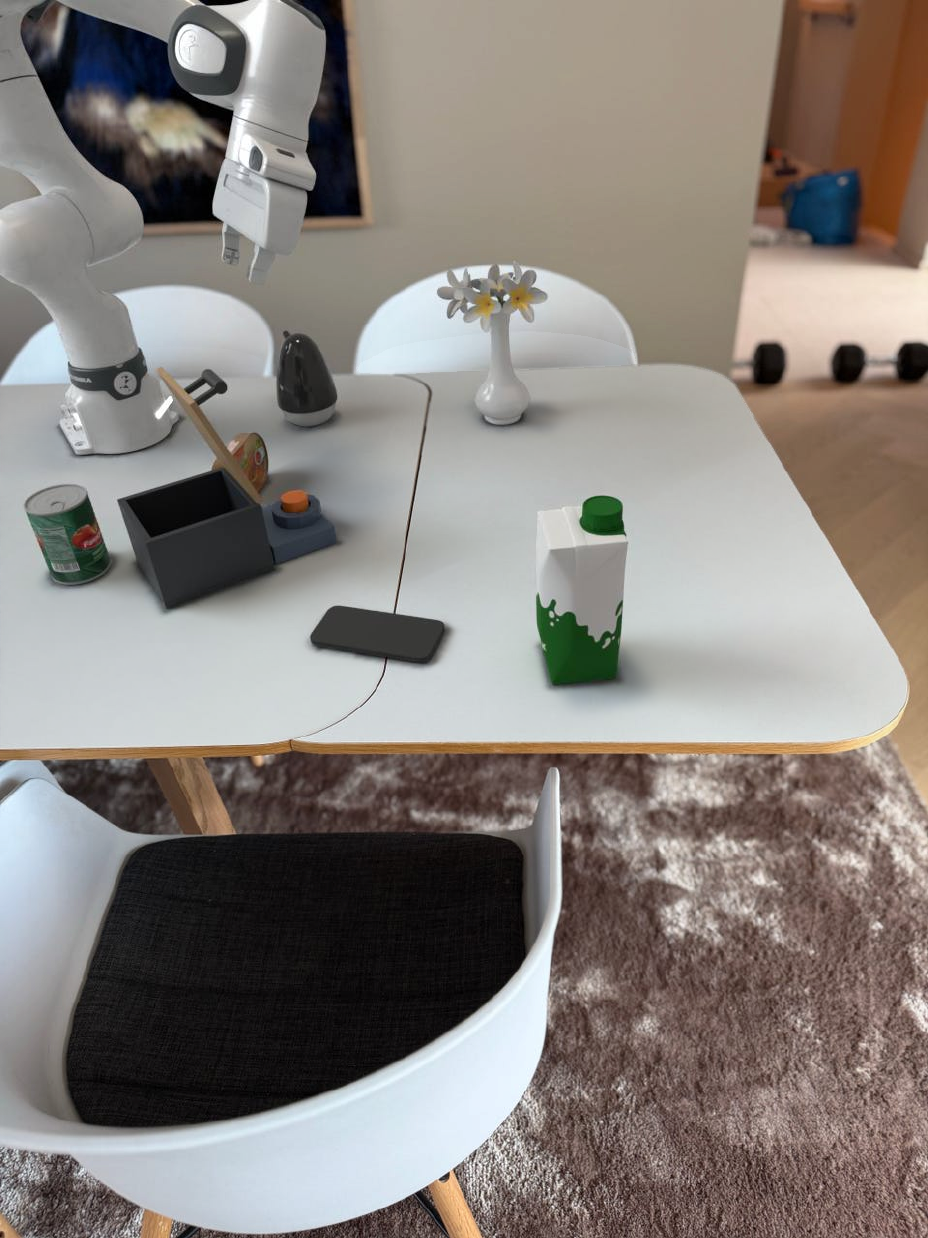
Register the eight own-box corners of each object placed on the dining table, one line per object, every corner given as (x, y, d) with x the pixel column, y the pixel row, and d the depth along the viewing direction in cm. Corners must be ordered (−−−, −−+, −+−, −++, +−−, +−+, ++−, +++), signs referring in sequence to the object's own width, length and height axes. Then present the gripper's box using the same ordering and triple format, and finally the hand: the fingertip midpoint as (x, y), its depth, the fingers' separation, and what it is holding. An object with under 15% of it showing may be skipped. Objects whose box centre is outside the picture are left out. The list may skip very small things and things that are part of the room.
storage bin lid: (189, 404, 104) (228, 378, 105) (155, 369, 113) (191, 345, 114) (257, 504, 115) (292, 479, 116) (221, 464, 124) (254, 442, 125)
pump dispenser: (325, 402, 164) (311, 318, 154) (350, 421, 156) (338, 334, 147) (272, 417, 160) (255, 332, 150) (296, 438, 152) (279, 350, 143)
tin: (236, 522, 132) (223, 470, 126) (215, 521, 132) (202, 469, 127) (273, 472, 143) (263, 422, 138) (254, 471, 144) (244, 422, 139)
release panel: (276, 564, 122) (270, 536, 119) (246, 530, 130) (240, 502, 127) (338, 542, 126) (333, 514, 123) (306, 509, 133) (301, 482, 131)
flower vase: (467, 395, 163) (458, 249, 147) (563, 410, 155) (564, 258, 140) (432, 425, 154) (418, 273, 138) (532, 442, 146) (530, 284, 131)
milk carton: (626, 683, 99) (636, 525, 87) (543, 691, 99) (542, 534, 87) (609, 634, 106) (616, 481, 94) (532, 641, 106) (529, 490, 94)
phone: (427, 659, 103) (306, 640, 107) (427, 665, 103) (307, 645, 107) (447, 620, 109) (331, 603, 112) (447, 626, 109) (332, 609, 113)
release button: (289, 517, 124) (286, 505, 123) (278, 506, 126) (276, 495, 125) (313, 508, 125) (311, 497, 124) (302, 498, 128) (300, 487, 127)
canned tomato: (50, 562, 126) (22, 492, 119) (108, 547, 128) (84, 477, 121) (53, 591, 120) (24, 519, 113) (114, 575, 122) (89, 504, 116)
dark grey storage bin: (166, 609, 115) (145, 543, 109) (137, 562, 124) (116, 499, 119) (275, 570, 121) (261, 505, 115) (239, 528, 130) (224, 465, 124)
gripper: (212, 133, 114) (191, 246, 120) (271, 161, 100) (244, 289, 106) (259, 148, 118) (237, 258, 123) (322, 178, 103) (294, 300, 109)
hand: (241, 272), depth 114 cm, fingers open, 8 cm apart
